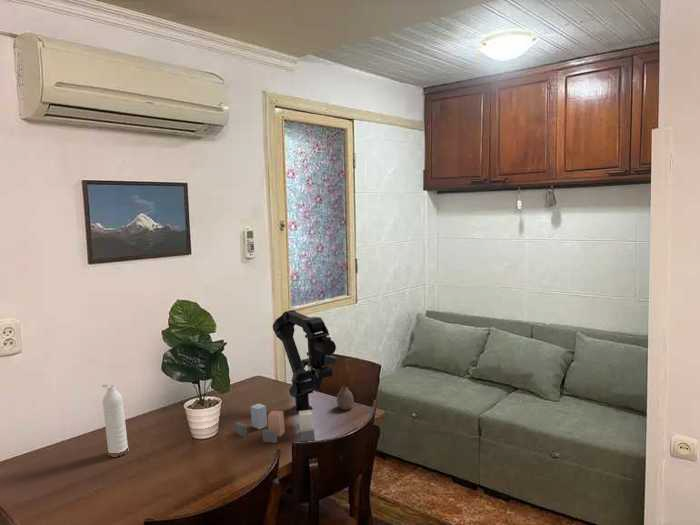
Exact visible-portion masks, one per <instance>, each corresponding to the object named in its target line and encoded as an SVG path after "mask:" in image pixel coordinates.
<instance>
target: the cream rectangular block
mask: <svg viewBox="0 0 700 525" xmlns="http://www.w3.org/2000/svg"><path fill="white" fill-rule="evenodd" d="M312 415H313V414H312V409H310V410H305V411H299V412H298V418H299V431H300V430H305V429H313V428H314V427H313V416H312Z"/></svg>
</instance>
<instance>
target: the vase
mask: <svg viewBox="0 0 700 525" xmlns="http://www.w3.org/2000/svg"><path fill="white" fill-rule="evenodd" d="M336 403H337V407H339V409H340V410H343V411H344V410H345V411H347V410H350V409H352V407H353V405H354V395H353V393H352V392H351V390H350V389H349V388H348V386H342V387H341V388H340V390H339V392H338V393H337V396H336Z"/></svg>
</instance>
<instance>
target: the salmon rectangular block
mask: <svg viewBox="0 0 700 525" xmlns="http://www.w3.org/2000/svg"><path fill="white" fill-rule="evenodd" d="M267 427H268V430H277V438H279V437H282V436H283V435H284V433H285V432H286V430H285V416H284V410H283V411H281V410H279V411H278V410H272V411H270V412H269V413H267Z"/></svg>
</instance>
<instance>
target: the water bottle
mask: <svg viewBox="0 0 700 525" xmlns="http://www.w3.org/2000/svg"><path fill="white" fill-rule="evenodd" d="M110 384H111V383H110V382H104V383H102V384H101V386H102V388H107V389H106V390H107V391H106V393H105V395H104V397H103V399H102V407H103V409H102V410H103V414H104V416H103V417H104V425H105V427H104V428H105V434H106V442H107V453H108V452H109V453H120V452H123V451H125V450H126V449H127V448H128V449H129V444H128V437H127V436H128V435H127V427H126V426H127V425H126V418H125V409H124V398H123V396H122V394H121V393H120V392H119V391H118V390H117V389H116V385H114V384H112V385H110Z"/></svg>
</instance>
